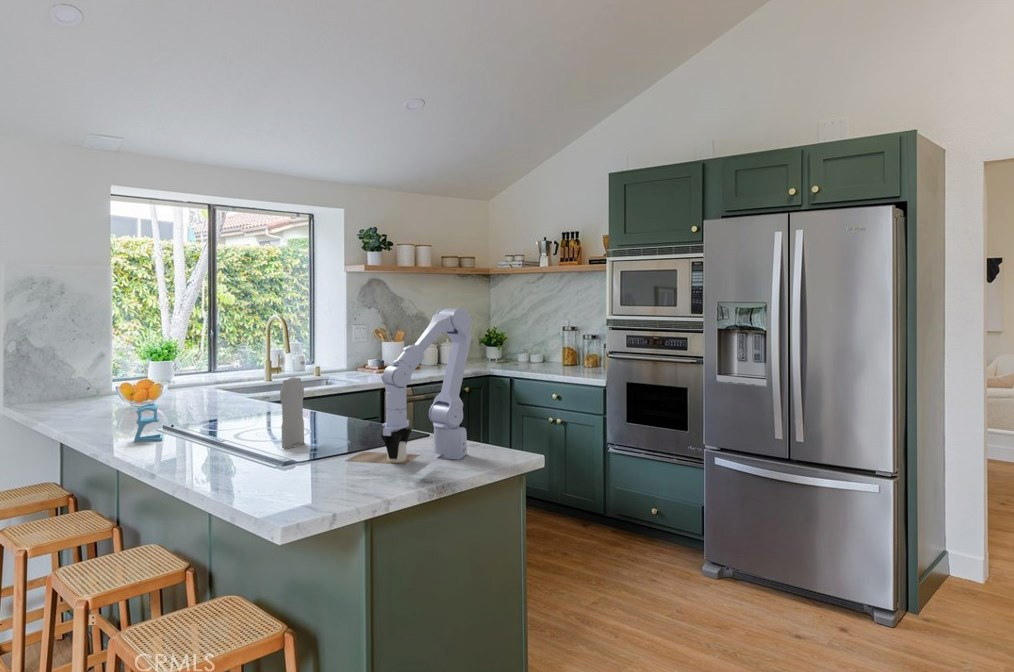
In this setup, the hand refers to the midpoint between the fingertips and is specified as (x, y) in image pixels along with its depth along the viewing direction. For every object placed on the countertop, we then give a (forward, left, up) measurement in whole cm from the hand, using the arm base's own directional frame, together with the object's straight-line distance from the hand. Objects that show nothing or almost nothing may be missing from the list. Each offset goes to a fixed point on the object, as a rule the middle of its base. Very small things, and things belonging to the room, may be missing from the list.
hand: (396, 456), depth 199 cm
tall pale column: (+42, -17, -3) cm, 45 cm away
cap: (0, 0, -1) cm, 1 cm away
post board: (+5, -2, -3) cm, 6 cm away
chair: (+94, -15, -3) cm, 95 cm away
